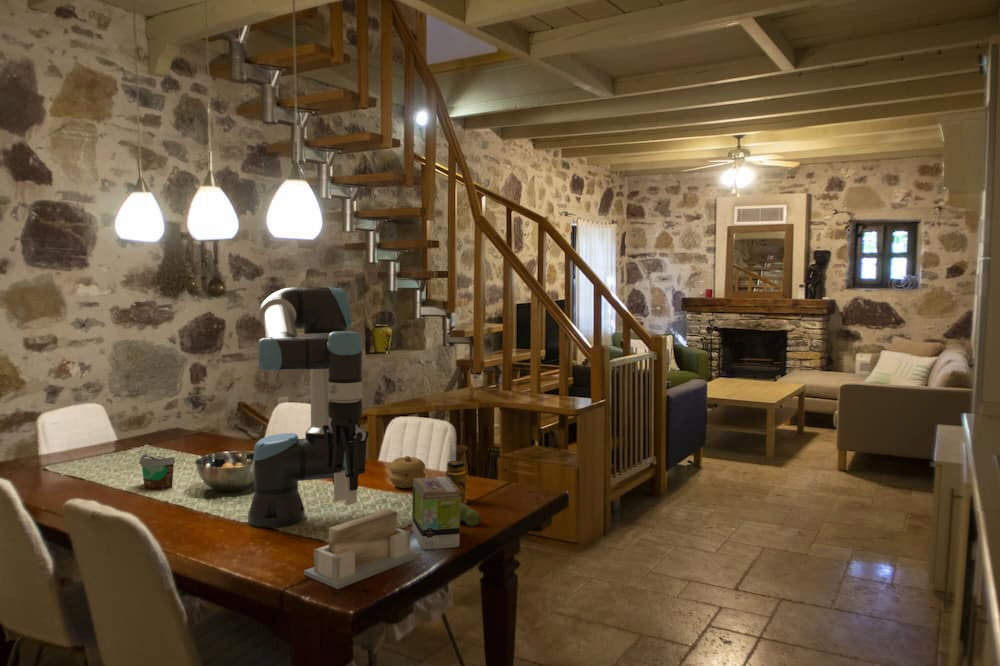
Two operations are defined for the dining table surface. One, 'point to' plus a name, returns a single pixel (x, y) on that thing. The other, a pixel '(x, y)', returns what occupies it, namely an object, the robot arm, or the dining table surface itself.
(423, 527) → the tea box
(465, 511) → the pear
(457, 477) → the condiment
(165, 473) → the food container
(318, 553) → the frame
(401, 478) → the pot
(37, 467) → the dining table surface
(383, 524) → the slat
